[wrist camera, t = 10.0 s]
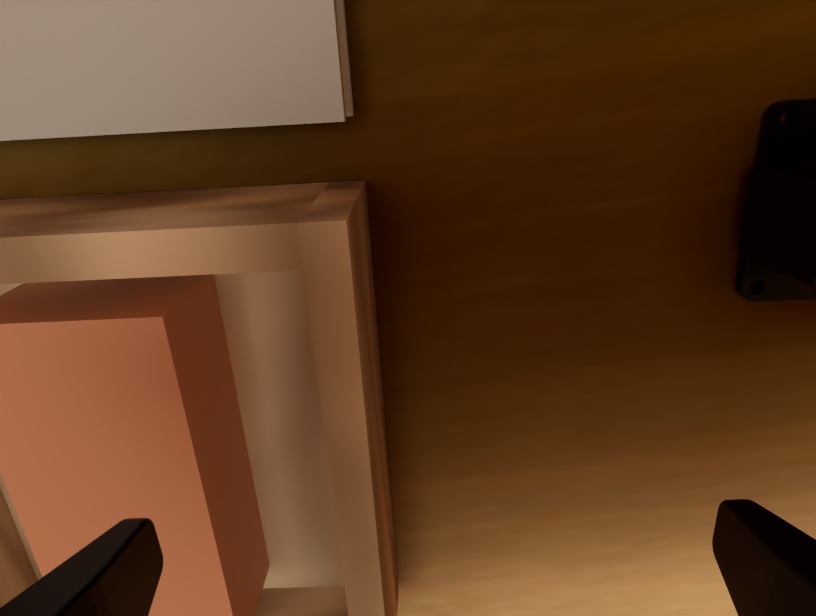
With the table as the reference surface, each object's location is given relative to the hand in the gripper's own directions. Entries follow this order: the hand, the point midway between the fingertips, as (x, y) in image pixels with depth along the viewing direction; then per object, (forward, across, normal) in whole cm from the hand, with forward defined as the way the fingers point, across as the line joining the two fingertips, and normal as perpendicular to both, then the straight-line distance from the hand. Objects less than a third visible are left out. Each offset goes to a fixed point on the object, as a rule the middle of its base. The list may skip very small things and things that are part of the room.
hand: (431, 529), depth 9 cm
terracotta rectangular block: (+11, +10, +5) cm, 16 cm away
